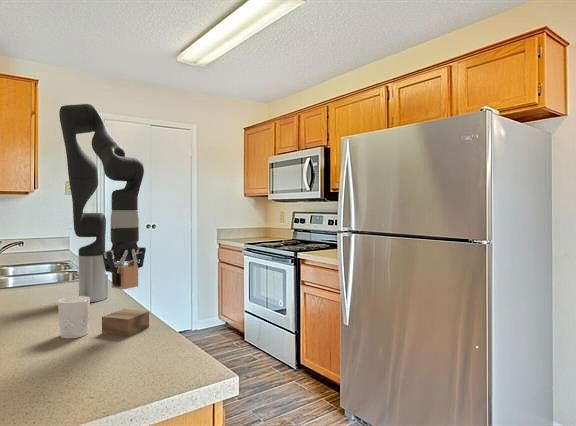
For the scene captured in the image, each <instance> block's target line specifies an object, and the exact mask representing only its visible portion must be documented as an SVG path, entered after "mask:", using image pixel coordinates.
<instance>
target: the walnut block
mask: <svg viewBox="0 0 576 426" xmlns="http://www.w3.org/2000/svg"><path fill="white" fill-rule="evenodd" d="M148 328H150V311H149V310H140V309H132V308H131V309H130V308H122V309H120V310H118V311H115V312H111V313H108V314H106V315H103V316H101V334H103V335H113V336H121V337H131V336H133V335H135V334H137V333H140V332H142V331H144V330H146V329H148Z"/></svg>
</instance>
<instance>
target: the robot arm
mask: <svg viewBox="0 0 576 426" xmlns="http://www.w3.org/2000/svg"><path fill="white" fill-rule="evenodd" d="M58 114H59V115H58V117H59V122H60V128H61V131H62V137H63V141H64V142H63V143H64V147H65V154H66V155H65V156H66V162H67V175H68V182H69V188H70V195H71V201H72V203H71V204H72V215H73V216H72V221H73V230H74V234H75V235H76V237H78V238H95V240H94V241H93V242H91V243H90V244H88V245H83V246H82V247H79V248H78V296H87V297H90V303H94V302H101V301H104V300H105V299H108V297H109V276H108V275H109V274H108V273H111V284H112V283H113V285H114V286H115V287H120V286H121V274H120V271H121V268H122V266H123V265H125V263H126V265H133V266H138V269H140V268H143V266H144V261H145V254H146V247H142V246H141V247H140V246H138V242H139V239H140V236H139V235H140V234H139V233H140V230H139V229H140V226H139V223H140V222H139V221H140V219H139V211H138V210H139V208H138V207H139V199H138V198H139V194H140V193H139V192H140V188H141V185H142V182H143V178H144V175H145V167H144V164H143V162H142V161H141V159H139V158H136V157H129V156H126V153H125V150H124V149H123V147H122V146H121V145H120V143H118V142H117V140H116V139H115V138H114V137H113V136H112V134H111V132H110V131H109V128H108V127H107V125H106V124H105V121H104V120H103V118H102V116H101V115H100V113H99V111H98V110H97V109H96V107H95V106H94V105H92V104H88V103H80V104H77V103H76V104H65V105H62V106H60V108H59V113H58ZM89 133H90V134H91V133H94V134H93V136H92V138H91V147H92V150H93V153H95V154H96V156H97V158H99V160H100V161H101V164H102V167H103V172H104V175H105V176H106V178H108V179H109V180H111V181H116V182H126V183H125V186H124V188H120V189H115V190H113V191H112V192H111V195H110V196H111V199H110V200H111V201H110V202H111V213H110V242H111V243H112V246H111V247H110V249H109V250H106V232H107V231H106V230H107V218H106V215H105V214H104V213H102V212H84V208H85V207H86V204H87V203H88V201H89V199H91V197H92V196H93V195H94V193H95V192H96V190H97V189H98V186H99V174H98V168H97V165H96V163H95V162H94V160H92V158H91V157H90V156H89V155H88V154H87V153H86V152H85V151H84V150H83V148H82V147H81V146H80V144H79V142H78V139H77V135H80V134H89ZM116 267H117V269H116ZM106 272H107V273H106Z"/></svg>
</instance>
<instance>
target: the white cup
mask: <svg viewBox="0 0 576 426" xmlns="http://www.w3.org/2000/svg"><path fill="white" fill-rule="evenodd" d="M90 305H91V302H90V297H87V296H79V295H76V296H69V297H64V298H60V299H58V300H57V308H58V310H57V311H58V321H59V333H60V338H62V339H66V340H67V339H77V338H81V337H84V336H86V335H88V333H89V325H90Z"/></svg>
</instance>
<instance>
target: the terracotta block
mask: <svg viewBox="0 0 576 426" xmlns="http://www.w3.org/2000/svg"><path fill="white" fill-rule="evenodd" d="M116 269H117V267H116ZM120 274H121V286H120V287H115V286H114V285H113V283H112V282H111V289H118V290H128V289H133V288H136V287H139V268H138V266H133V265H128V264H124V265H123V266H122V268H121V271H120Z"/></svg>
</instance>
